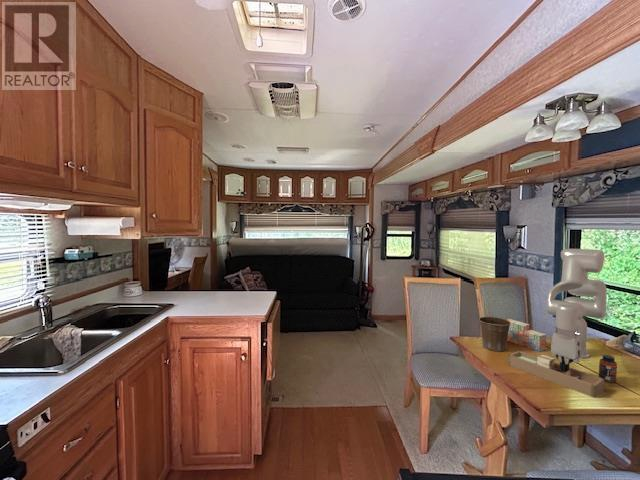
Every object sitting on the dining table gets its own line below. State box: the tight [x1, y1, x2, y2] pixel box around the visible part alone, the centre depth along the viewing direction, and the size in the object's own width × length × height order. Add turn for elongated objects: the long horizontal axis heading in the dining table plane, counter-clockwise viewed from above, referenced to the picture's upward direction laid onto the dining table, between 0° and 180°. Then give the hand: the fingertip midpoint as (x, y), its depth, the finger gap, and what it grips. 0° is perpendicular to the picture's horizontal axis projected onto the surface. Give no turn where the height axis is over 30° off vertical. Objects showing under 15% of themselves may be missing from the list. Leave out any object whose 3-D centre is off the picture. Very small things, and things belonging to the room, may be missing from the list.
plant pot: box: [478, 316, 511, 352], centre depth 176 cm, size 16×16×16 cm
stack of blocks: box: [507, 318, 547, 352], centre depth 181 cm, size 21×6×12 cm, turn 24°
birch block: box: [537, 354, 555, 370], centre depth 145 cm, size 5×5×5 cm
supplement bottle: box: [598, 354, 618, 384], centre depth 139 cm, size 6×6×11 cm
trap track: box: [507, 350, 606, 398], centre depth 143 cm, size 11×34×5 cm, turn 31°
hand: (564, 371), depth 139 cm, fingers closed
